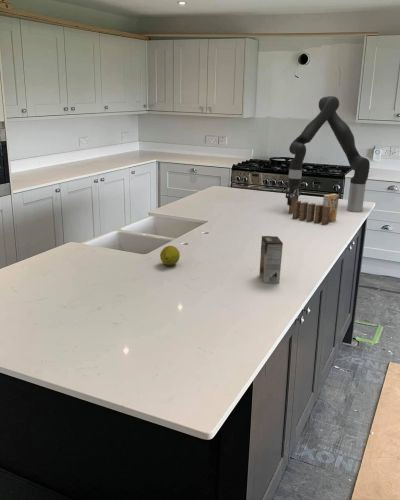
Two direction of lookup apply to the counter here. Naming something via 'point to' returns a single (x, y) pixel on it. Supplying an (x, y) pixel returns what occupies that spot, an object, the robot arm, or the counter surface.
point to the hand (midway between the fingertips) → (292, 204)
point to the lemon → (170, 255)
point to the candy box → (333, 202)
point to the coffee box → (270, 259)
